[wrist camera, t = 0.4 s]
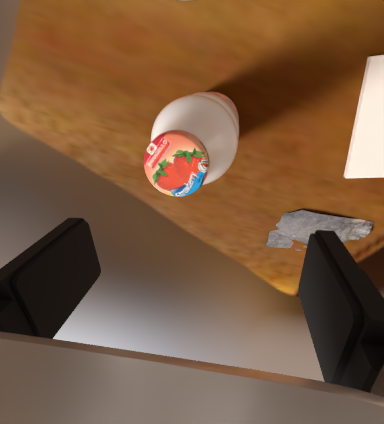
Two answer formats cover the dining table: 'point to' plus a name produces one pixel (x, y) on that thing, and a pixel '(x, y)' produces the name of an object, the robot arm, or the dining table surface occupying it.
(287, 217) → the stone slab
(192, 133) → the fruit juice
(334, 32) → the dining table surface
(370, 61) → the board
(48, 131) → the dining table surface
